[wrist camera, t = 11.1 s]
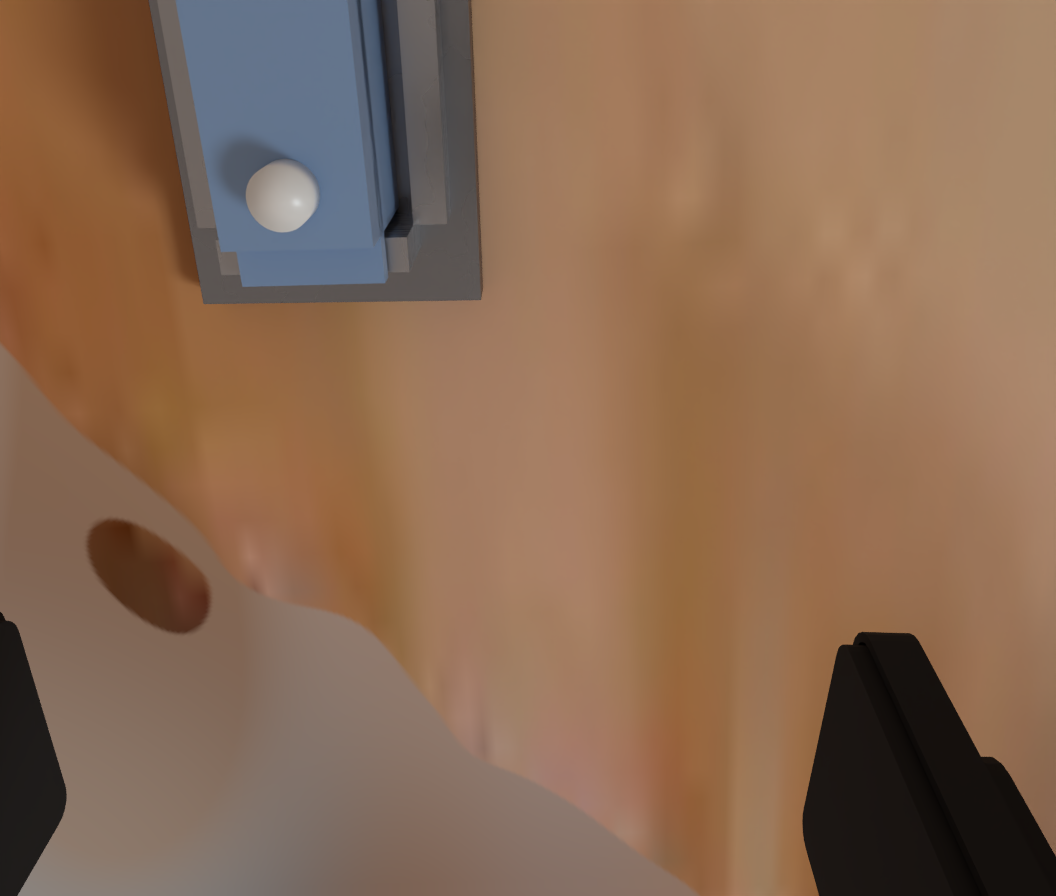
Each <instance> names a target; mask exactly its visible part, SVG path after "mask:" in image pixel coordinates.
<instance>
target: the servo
mask: <svg viewBox="0 0 1056 896" xmlns="http://www.w3.org/2000/svg"><path fill="white" fill-rule="evenodd" d="M176 6H177V11H178V17H179V23H180V28H181V34H182V39H183V45H184V50H185V56H186V61H187V67H188V72H189V78H190V84H191V89H192V95H193V100H194V106H195V111H196V117H197V122H198V128H199V133H200V139H201V145H202V150H203V156H204V161H205V167H206V172H207V178H208V183H209V189H210V194H211V200H212V206H213V211H214V217H215V222H216V228H217V233H218V239H219V244H220V250H221V252H236V253H237V259H238V265H239V270H240V276H241V282H242V287H258V286H296V285H335V284H373V283H385V282H386V281H387V279H388V269H387V259H386V249H385V239H384V230H385V228H386V227H387V225H388V224H389V222H390V220H391V219H392V217H393V216H394V214H395V212H396V211H397V209H398V208H399V199H398V188H397V177H396V166H395V155H394V144H393V133H392V122H391V111H390V100H389V89H388V78H387V67H386V56H385V45H384V34H383V23H382V12H381V1H380V0H176Z"/></svg>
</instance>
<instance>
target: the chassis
mask: <svg viewBox="0 0 1056 896" xmlns="http://www.w3.org/2000/svg"><path fill="white" fill-rule="evenodd" d="M380 1H381V12H382V23H383V34H384V45H385V56H386V67H387V78H388V89H389V100H390V111H391V122H392V133H393V144H394V155H395V166H396V177H397V188H398V199H399V208H398V209H397V211H396V212H395V214H394V216H393V217H392V219H391V220H390V222H389V224H388V225H387V227H386V228H385V230H384V239H385V249H386V259H387V269H388V279H387V281H386V282H385V283H373V284H335V285H296V286H258V287H242V282H241V276H240V270H239V265H238V259H237V253H236V252H221V250H220V244H219V239H218V233H217V228H216V222H215V217H214V211H213V206H212V200H211V194H210V189H209V183H208V178H207V172H206V167H205V161H204V156H203V150H202V145H201V139H200V133H199V128H198V122H197V117H196V111H195V106H194V100H193V95H192V89H191V84H190V78H189V72H188V67H187V61H186V56H185V50H184V45H183V39H182V34H181V28H180V23H179V17H178V11H177V6H176V0H149V6H150V11H151V17H152V22H153V28H154V33H155V39H156V44H157V50H158V55H159V61H160V66H161V72H162V77H163V83H164V88H165V94H166V99H167V105H168V110H169V116H170V121H171V127H172V132H173V138H174V143H175V149H176V154H177V160H178V165H179V171H180V176H181V182H182V187H183V193H184V198H185V204H186V209H187V215H188V220H189V226H190V231H191V237H192V242H193V248H194V253H195V259H196V264H197V270H198V275H199V281H200V286H201V292H202V297H203V303H204V304H237V303H307V302H377V301H447V300H481V297H482V291H483V278H482V254H481V230H480V205H479V181H478V157H477V132H476V108H475V84H474V59H473V35H472V11H471V0H380Z"/></svg>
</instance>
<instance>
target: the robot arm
mask: <svg viewBox="0 0 1056 896" xmlns="http://www.w3.org/2000/svg"><path fill="white" fill-rule="evenodd" d="M65 805H66V787H65V783H64V780H63V777H62V773H61V770H60V767H59V763H58V760H57V757H56V753H55V750H54V747H53V743H52V740H51V737H50V733H49V730H48V727H47V723H46V720H45V717H44V713H43V710H42V707H41V703H40V700H39V697H38V694H37V690H36V687H35V683H34V680H33V677H32V673H31V670H30V667H29V663H28V660H27V657H26V654H25V650H24V647H23V643H22V640H21V637H20V633H19V631H18V629H17V627H16V625H15V624H14V623H13V622H11V621H6V620H5V618H4V616H3V614H2V613H1V612H0V896H17V895H18V893H19V892H20V890H21V888H22V887H23V885H24V883H25V881H26V880H27V878H28V876H29V875H30V873H31V871H32V869H33V867H34V866H35V864H36V863H37V861H38V859H39V857H40V856H41V854H42V852H43V850H44V849H45V847H46V845H47V844H48V842H49V840H50V838H51V837H52V835H53V833H54V832H55V830H56V828H57V826H58V825H59V822H60V821H61V819H62V816H63V813H64V810H65ZM803 836H804V842H805V847H806V850H807V854H808V857H809V861H810V864H811V868H812V872H813V875H814V879H815V882H816V886H817V889H818V893H819V896H1056V856H1055V854H1054V853H1053V851H1052V849H1051V847H1050V846H1049V844H1048V842H1047V840H1046V838H1045V837H1044V835H1043V833H1042V831H1041V829H1040V828H1039V826H1038V824H1037V822H1036V821H1035V819H1034V817H1033V815H1032V813H1031V812H1030V810H1029V808H1028V806H1027V805H1026V803H1025V801H1024V799H1023V797H1022V796H1021V794H1020V792H1019V790H1018V789H1017V787H1016V785H1015V783H1014V781H1013V780H1012V778H1011V776H1010V775H1009V773H1008V772H1007V770H1006V769H1005V768H1004V766H1003V765H1002V764H1001V763H1000V762H999V761H997V760H996V759H994V758H993V757H981V756H980V754H979V752H978V751H977V749H976V747H975V745H974V743H973V741H972V739H971V738H970V736H969V734H968V732H967V730H966V728H965V726H964V725H963V723H962V721H961V719H960V717H959V715H958V713H957V712H956V710H955V708H954V706H953V704H952V702H951V700H950V699H949V697H948V695H947V693H946V691H945V689H944V687H943V686H942V684H941V682H940V680H939V678H938V676H937V674H936V672H935V671H934V669H933V667H932V665H931V663H930V661H929V659H928V658H927V656H926V654H925V652H924V650H923V648H922V646H921V645H920V643H919V641H918V640H917V638H916V637H915V636H914V635H912V634H910V633H877V632H861V633H858V635H857V636H856V637H855V640H854V643H853V645H841V646H840V647H839V649H838V652H837V655H836V660H835V665H834V669H833V674H832V679H831V684H830V688H829V693H828V698H827V702H826V707H825V712H824V716H823V721H822V726H821V730H820V735H819V740H818V745H817V749H816V754H815V759H814V763H813V768H812V773H811V777H810V782H809V787H808V792H807V796H806V801H805V806H804V811H803Z"/></svg>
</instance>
